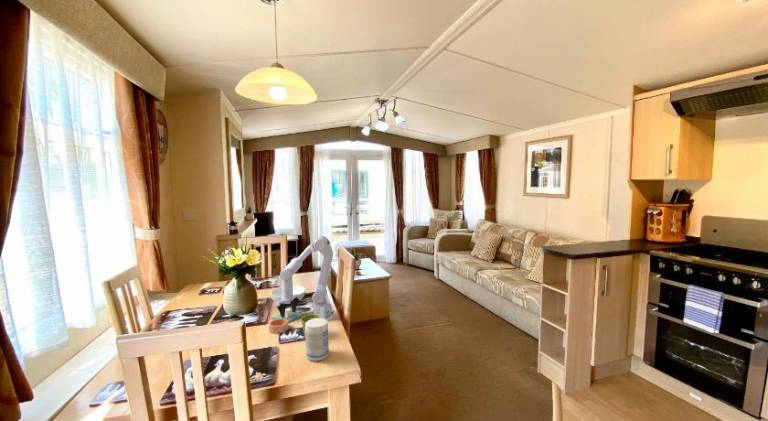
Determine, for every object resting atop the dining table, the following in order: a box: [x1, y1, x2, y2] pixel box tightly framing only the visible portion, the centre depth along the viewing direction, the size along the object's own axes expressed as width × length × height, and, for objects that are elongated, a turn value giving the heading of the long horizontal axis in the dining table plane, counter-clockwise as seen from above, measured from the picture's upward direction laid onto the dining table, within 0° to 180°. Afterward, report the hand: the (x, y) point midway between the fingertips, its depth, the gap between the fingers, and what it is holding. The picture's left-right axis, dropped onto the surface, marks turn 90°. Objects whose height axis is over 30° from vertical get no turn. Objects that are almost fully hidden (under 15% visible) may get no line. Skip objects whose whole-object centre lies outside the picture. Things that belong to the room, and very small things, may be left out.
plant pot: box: [299, 313, 320, 338], centre depth 154 cm, size 9×9×9 cm
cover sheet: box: [272, 307, 304, 324], centre depth 175 cm, size 11×11×4 cm
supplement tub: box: [304, 318, 330, 362], centre depth 136 cm, size 10×10×15 cm
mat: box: [270, 313, 306, 325], centre depth 175 cm, size 13×13×1 cm
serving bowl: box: [269, 285, 307, 305], centre depth 198 cm, size 21×21×7 cm
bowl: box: [268, 319, 289, 335], centre depth 160 cm, size 9×9×4 cm
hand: (288, 314), depth 175 cm, fingers open, 7 cm apart
